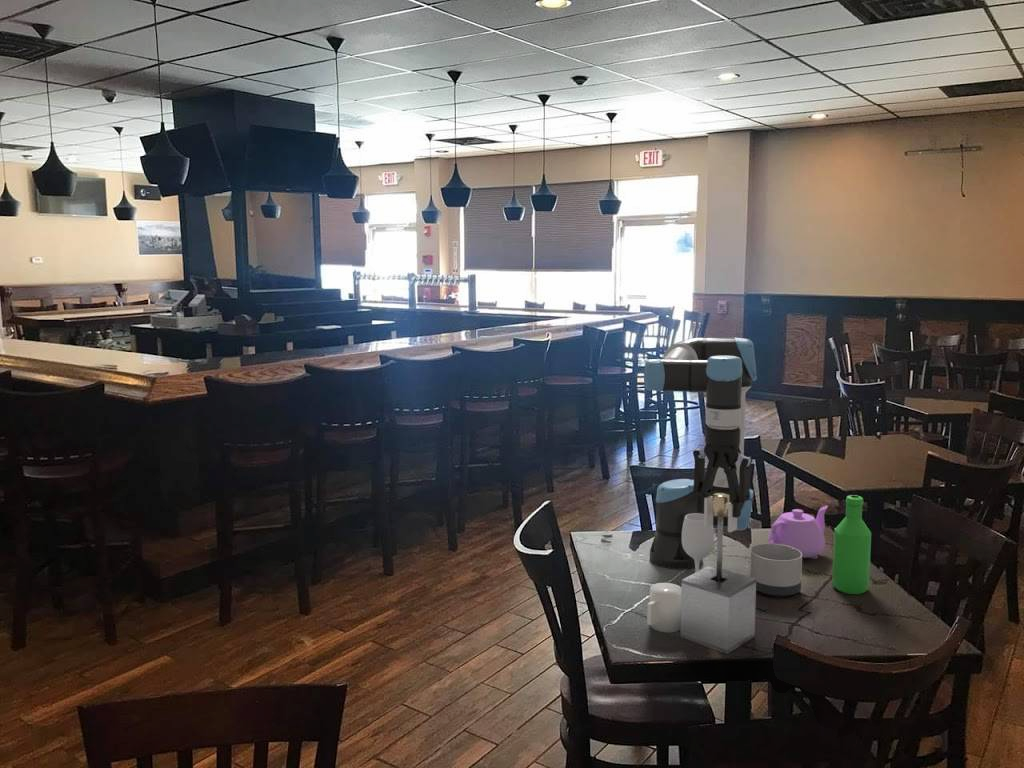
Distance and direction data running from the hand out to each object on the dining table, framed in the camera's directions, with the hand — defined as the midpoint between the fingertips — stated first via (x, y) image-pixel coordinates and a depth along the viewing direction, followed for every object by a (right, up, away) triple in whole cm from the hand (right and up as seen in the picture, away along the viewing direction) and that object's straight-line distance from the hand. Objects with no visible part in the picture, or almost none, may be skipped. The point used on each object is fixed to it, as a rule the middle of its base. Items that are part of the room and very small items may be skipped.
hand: (720, 527), depth 176 cm
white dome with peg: (-11, -25, +9) cm, 29 cm away
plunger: (0, -16, +2) cm, 16 cm away
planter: (+22, -22, +30) cm, 43 cm away
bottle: (+42, -22, +30) cm, 56 cm away
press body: (0, -26, +4) cm, 26 cm away
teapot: (+38, -18, +55) cm, 69 cm away
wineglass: (+1, -23, +27) cm, 35 cm away
